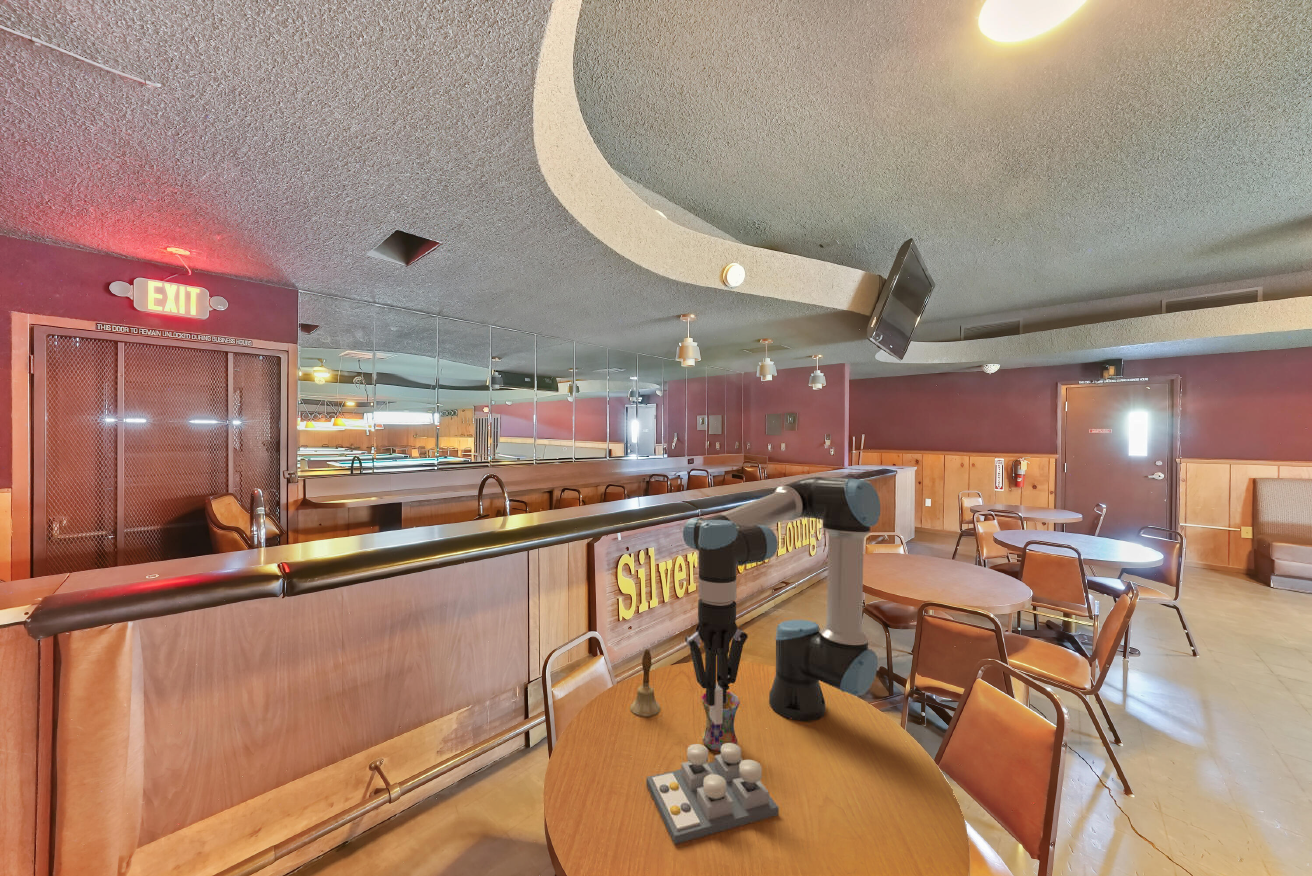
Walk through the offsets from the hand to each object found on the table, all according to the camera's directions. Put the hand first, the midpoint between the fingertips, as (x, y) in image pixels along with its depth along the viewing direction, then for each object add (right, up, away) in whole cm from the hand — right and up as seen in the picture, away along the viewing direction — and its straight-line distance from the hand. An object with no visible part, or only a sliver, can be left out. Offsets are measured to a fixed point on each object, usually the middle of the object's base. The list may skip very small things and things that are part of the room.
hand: (715, 720), depth 91 cm
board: (-1, -18, +3) cm, 19 cm away
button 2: (+7, -15, +2) cm, 17 cm away
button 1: (+5, -16, +10) cm, 19 cm away
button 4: (0, -16, -1) cm, 16 cm away
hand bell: (-15, -19, +37) cm, 44 cm away
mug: (+4, -19, +23) cm, 30 cm away
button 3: (-3, -15, +7) cm, 17 cm away
